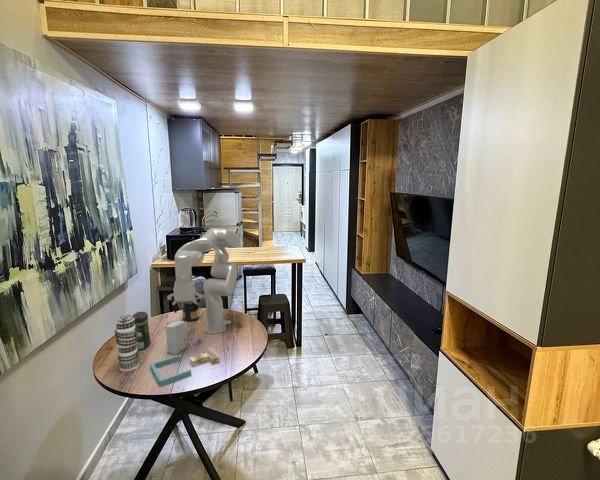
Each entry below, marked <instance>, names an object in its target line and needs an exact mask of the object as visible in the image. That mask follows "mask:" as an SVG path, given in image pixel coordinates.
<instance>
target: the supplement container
mask: <svg viewBox="0 0 600 480" xmlns="http://www.w3.org/2000/svg"><path fill="white" fill-rule="evenodd" d="M194 304H195V303H194V302H193V301H182V306H181V309H182V311H181V312H182V319H183V321H184V322H194V321H197V320H199V319H200V315H201V314H200V305H199V303H198V310H197V311H196V312H194Z"/></svg>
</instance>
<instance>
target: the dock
mask: <svg viewBox="0 0 600 480" xmlns="http://www.w3.org/2000/svg"><path fill="white" fill-rule="evenodd" d="M180 361H181V355H179V354H178V355H177V354H176V355H174V356H171V357H168V358H165V359H162V360H159V361H158V360H157V361H154V362H152V363H150V364H149V367H150V371H151V372H152V374H153V376H154V378H155V380H156V381H157V384H158V386H159V387H164V386H167V385H169V384H171V383H175V382H177V381H181V380H183V379H186V378H189V377H191V376H192V370H191V369H188V370H185V371H182V372H179V373H176V374H173V375H171V376H170V375H169V376H168V377H164V378H163V377H162V376H161V373H160V371H159V370H158V368H161V367H164V366H168V365H172V364H173V363H177V362H180Z"/></svg>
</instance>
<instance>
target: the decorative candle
mask: <svg viewBox="0 0 600 480" xmlns="http://www.w3.org/2000/svg"><path fill="white" fill-rule="evenodd" d="M132 316H133V315H129V314H128V315H122V316H120V317H118V318H117V319H116V320H115V323H116V324H115V326H116V327H115V329H114V335H115V341H116V342H115V343H116V346H117V348H118V354H117V357H118V359H117V360H118V368H119V371H121V372H131V371H134V370H135V369H137V368H139V366H140V358H139V350H137V347H136V343H137V337H135V336H137V333H136V332H137V330H135V328H136V327H137V326H135V324H134V320H135V318H134V317H132Z"/></svg>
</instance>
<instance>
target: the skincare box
mask: <svg viewBox="0 0 600 480" xmlns="http://www.w3.org/2000/svg"><path fill="white" fill-rule="evenodd" d="M185 322H186V321H184V320H183V321H180V320H174V321H173V322H170V323H169V324H168V325H167V324H166V326H165V333H166V335H165V336H166V348H167V353H168V354H173V355H177V354H178V355H179V353H180V352H182V351H183V350H185V349H186V348H187V338H186V323H185Z"/></svg>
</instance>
